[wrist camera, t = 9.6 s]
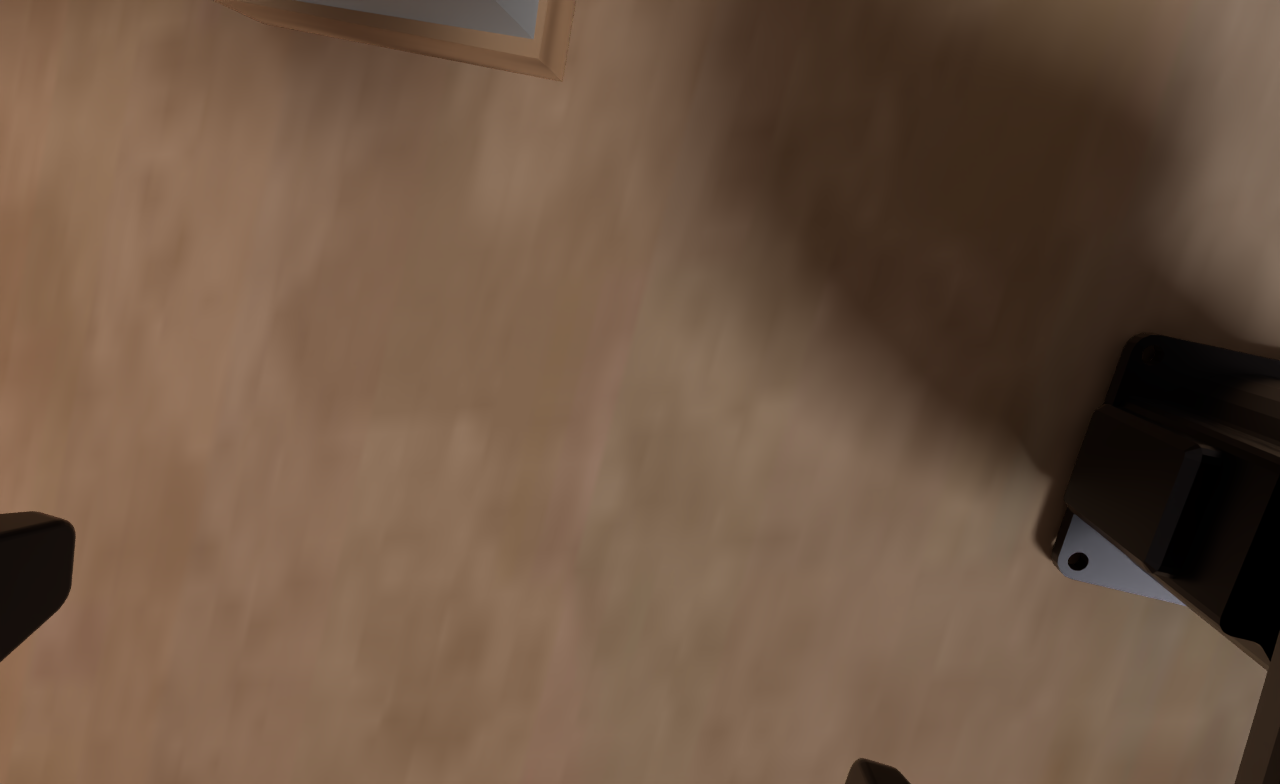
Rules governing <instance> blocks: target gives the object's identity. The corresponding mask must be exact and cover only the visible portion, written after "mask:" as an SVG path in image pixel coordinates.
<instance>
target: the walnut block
mask: <svg viewBox="0 0 1280 784" xmlns="http://www.w3.org/2000/svg"><path fill="white" fill-rule="evenodd" d="M213 1H215V2H218V3H220V4H222V5H224V6H226V7H228V8H231V9H233V10H235V11H237V12H239V13H241V14H244V15H246V16H248V17H250V18H252V19H254V20H257V21H259V22H261V23H263V24H268V25H273V26H278V27H283V28H288V29H293V30H299V31H304V32H309V33H314V34H319V35H324V36H329V37H335V38H340V39H345V40H350V41H355V42H360V43H365V44H371V45H376V46H381V47H386V48H391V49H396V50H401V51H407V52H412V53H417V54H422V55H427V56H432V57H437V58H443V59H448V60H453V61H458V62H463V63H468V64H473V65H479V66H484V67H489V68H494V69H499V70H504V71H509V72H515V73H520V74H525V75H530V76H535V77H540V78H545V79H551V80H556V81H561V82H563V76H564V70H565V64H566V58H567V52H568V46H569V40H570V34H571V28H572V22H573V16H574V10H575V4H576V0H539V3H538V11H537V18H536V26H535V33H534V39H528V38H522V37H516V36H510V35H504V34H498V33H492V32H485V31H479V30H473V29H467V28H461V27H455V26H449V25H443V24H436V23H430V22H424V21H418V20H412V19H406V18H400V17H393V16H387V15H381V14H375V13H369V12H363V11H357V10H351V9H344V8H338V7H332V6H326V5H320V4H314V3H308V2H302V1H295V0H213Z"/></svg>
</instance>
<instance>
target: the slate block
mask: <svg viewBox="0 0 1280 784" xmlns="http://www.w3.org/2000/svg"><path fill="white" fill-rule="evenodd" d="M295 1H302V2H308V3H314V4H320V5H326V6H332V7H338V8H344V9H351V10H357V11H363V12H369V13H375V14H381V15H387V16H393V17H400V18H406V19H412V20H418V21H424V22H430V23H436V24H443V25H449V26H455V27H461V28H467V29H473V30H479V31H485V32H492V33H498V34H504V35H510V36H516V37H522V38H528V39H534V33H535V26H536V18H537V11H538V3H539V0H295Z"/></svg>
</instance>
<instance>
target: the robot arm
mask: <svg viewBox="0 0 1280 784" xmlns="http://www.w3.org/2000/svg"><path fill="white" fill-rule="evenodd" d="M1150 345H1153V347H1154V348H1155V356H1154V357H1153V358H1152V360H1150V361H1148V362H1147V363H1144V362H1143V360H1142V352H1143V351H1144V349H1145V348H1146V347H1148V346H1150ZM1064 501H1065V503H1066V504H1067V506H1068V507H1067V510H1066V513H1065V516H1064V519H1063V521H1062V524H1061V527H1060V530H1059V533H1058V536H1057V538H1056V541H1055V544H1054V547H1053V550H1052V556H1051V558H1052V561H1053V564H1054V565H1055V566H1056V567H1057V569H1058V570H1059V571H1060V572H1061V573H1062V574H1063V575H1064V576H1066V577H1068V578H1071V579H1074V580H1078V581H1082V582H1086V583H1091V584H1095V585H1099V586H1103V587H1108V588H1112V589H1116V590H1120V591H1125V592H1129V593H1133V594H1137V595H1142V596H1146V597H1150V598H1154V599H1159V600H1163V601H1167V602H1171V603H1176V604H1180V605H1184V606H1187V607H1189V608H1190V609H1191V610H1192V611H1194V612H1195V613H1196V614H1197V615H1199V616H1200V617H1201V618H1202V619H1204V620H1205V621H1206V622H1207V623H1208V624H1210V625H1211V626H1212V627H1213V628H1215V629H1216V630H1217V631H1218V632H1220V633H1221V634H1222V635H1223V636H1225V637H1226V638H1227V639H1228V640H1230V641H1231V642H1232V643H1233V644H1235V645H1236V646H1237V647H1238V648H1240V649H1241V650H1242V651H1243V652H1245V653H1246V654H1247V655H1248V656H1250V657H1251V658H1252V659H1253V660H1254V661H1256V662H1257V663H1258V664H1259V665H1261V666H1262V667H1263V668H1264V669H1266V670H1267V671H1268V672H1267V676H1266V679H1265V682H1264V686H1263V689H1262V693H1261V696H1260V699H1259V703H1258V706H1257V710H1256V713H1255V716H1254V720H1253V723H1252V727H1251V730H1250V733H1249V737H1248V740H1247V744H1246V747H1245V750H1244V754H1243V757H1242V761H1241V764H1240V767H1239V771H1238V774H1237V777H1236V781H1235V784H1280V360H1275V359H1270V358H1266V357H1261V356H1256V355H1252V354H1247V353H1242V352H1238V351H1233V350H1228V349H1224V348H1219V347H1214V346H1209V345H1205V344H1200V343H1195V342H1191V341H1186V340H1181V339H1177V338H1172V337H1167V336H1163V335H1158V334H1153V333H1141V334H1138V335H1135V336H1134V337H1132V338H1131V339H1130V340H1129V341H1128V342H1127V343H1126V345H1125V347H1124V349H1123V351H1122V354H1121V357H1120V360H1119V363H1118V366H1117V368H1116V371H1115V374H1114V377H1113V380H1112V383H1111V385H1110V388H1109V391H1108V394H1107V397H1106V400H1105V402H1104V405H1102V406H1101V407H1099V408H1098V409H1096V410H1095V411H1094V413H1093V416H1092V418H1091V421H1090V424H1089V427H1088V430H1087V433H1086V436H1085V438H1084V441H1083V444H1082V447H1081V450H1080V453H1079V456H1078V458H1077V461H1076V464H1075V467H1074V470H1073V473H1072V476H1071V478H1070V481H1069V484H1068V487H1067V490H1066V493H1065V495H1064ZM75 538H76V536H75V530H74V527H73V525H72V524H71V523H70V522H69V521H67V520H64V519H61V518H58V517H54V516H51V515H48V514H44V513H41V512H35V511H29V512H18V513H6V514H0V662H1V661H2V660H3V659H4V658H6V657H7V656H8V655H9V654H10V653H11V652H12V651H13V650H14V649H16V648H17V647H18V646H19V645H20V644H21V643H22V642H23V641H24V640H26V639H27V638H28V637H29V636H30V635H31V634H32V633H33V632H34V631H36V630H37V629H38V628H39V627H40V626H41V625H42V624H43V623H44V622H46V621H47V620H48V619H49V618H50V617H51V616H52V615H53V614H54V613H56V612H57V611H58V610H59V609H60V607H61V606H62V605H63V603H64V602H65V600H66V599H67V597H68V595H69V592H70V589H71V584H72V572H73V561H74V549H75ZM1076 552H1082V555H1081V559H1080V560H1079V562H1077V563H1075V564H1068V558H1069V557H1070V556H1071V555H1072V554H1074V553H1076ZM845 784H910V782H909V781H908V780H907V779H906V778H905V777H904V776H903V775H902V774H901V773H900V772H899V771H898V770H897V769H896V768H894V767H892V766H889V765H885V764H882V763H878V762H875V761H872V760H868V759H864V758H860V759H858V760H856V761H855V762H854V763H853V765H852V767H851V769H850V771H849V774H848V777H847V779H846V782H845Z"/></svg>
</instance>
